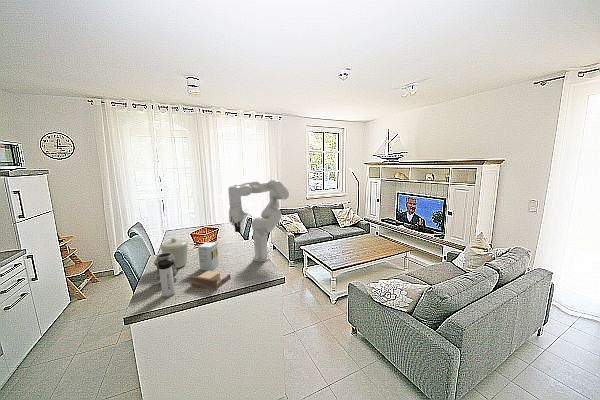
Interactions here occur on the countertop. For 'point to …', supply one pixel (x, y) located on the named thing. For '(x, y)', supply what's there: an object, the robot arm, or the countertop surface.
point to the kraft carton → (211, 275)
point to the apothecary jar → (166, 257)
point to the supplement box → (208, 256)
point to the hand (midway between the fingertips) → (237, 231)
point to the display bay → (207, 282)
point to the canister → (176, 250)
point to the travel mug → (166, 278)
